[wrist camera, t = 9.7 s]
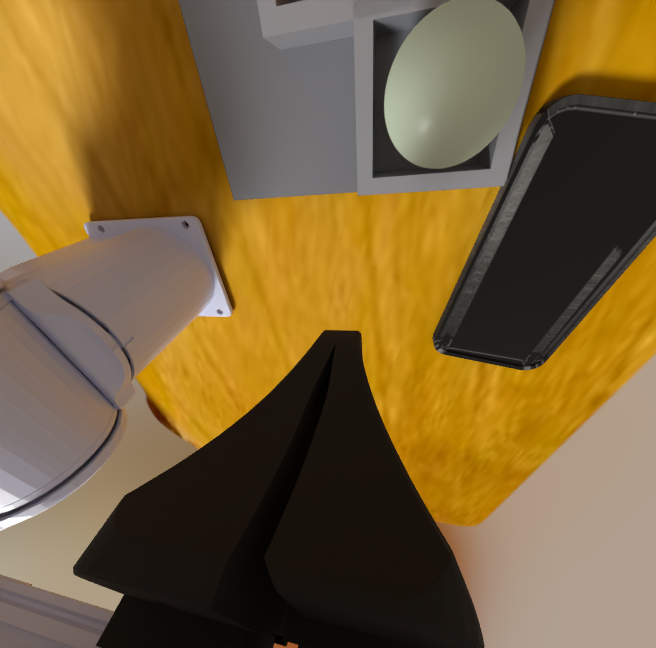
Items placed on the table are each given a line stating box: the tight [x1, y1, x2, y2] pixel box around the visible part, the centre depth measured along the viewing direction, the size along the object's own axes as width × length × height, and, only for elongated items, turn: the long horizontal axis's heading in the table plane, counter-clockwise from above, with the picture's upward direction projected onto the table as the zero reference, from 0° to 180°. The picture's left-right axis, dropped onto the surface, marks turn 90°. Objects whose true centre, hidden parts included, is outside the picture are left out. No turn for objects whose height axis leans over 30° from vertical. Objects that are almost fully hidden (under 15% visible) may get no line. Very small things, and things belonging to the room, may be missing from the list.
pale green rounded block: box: [384, 0, 526, 169], centre depth 10 cm, size 4×4×3 cm
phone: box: [433, 94, 656, 370], centre depth 16 cm, size 8×1×15 cm
